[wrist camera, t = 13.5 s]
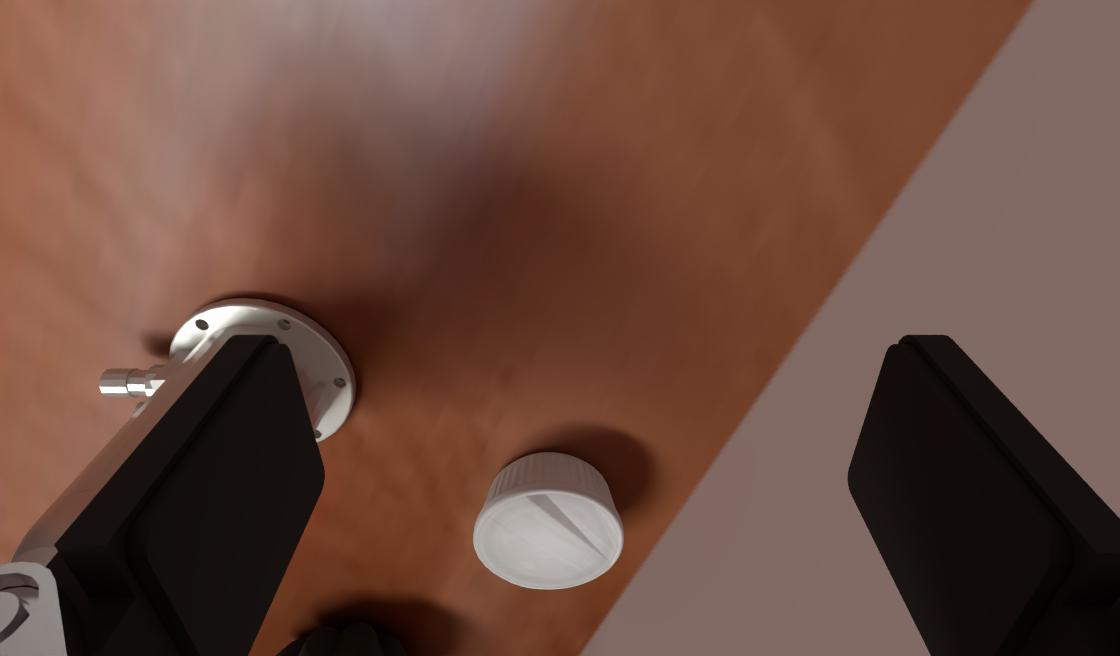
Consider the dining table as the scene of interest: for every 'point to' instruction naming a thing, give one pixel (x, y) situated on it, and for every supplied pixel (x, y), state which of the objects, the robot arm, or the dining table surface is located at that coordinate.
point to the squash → (345, 643)
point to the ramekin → (548, 523)
